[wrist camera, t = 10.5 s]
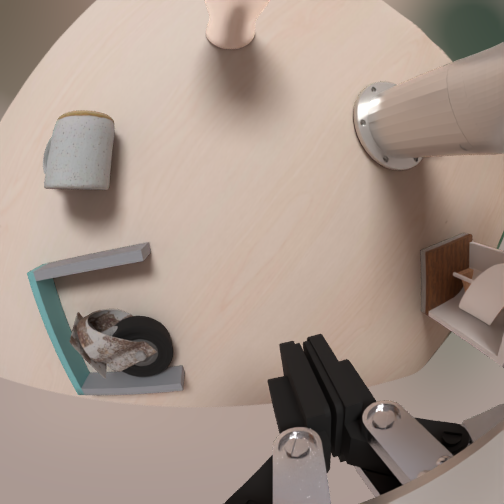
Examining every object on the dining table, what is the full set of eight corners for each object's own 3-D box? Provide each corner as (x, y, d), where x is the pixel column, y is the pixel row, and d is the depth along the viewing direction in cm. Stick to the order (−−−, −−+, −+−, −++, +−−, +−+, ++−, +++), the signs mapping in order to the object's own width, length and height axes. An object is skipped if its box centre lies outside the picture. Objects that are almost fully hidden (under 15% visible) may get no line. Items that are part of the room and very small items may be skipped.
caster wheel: (179, 339, 37) (124, 368, 35) (134, 276, 32) (74, 313, 30) (188, 370, 31) (125, 401, 30) (134, 304, 26) (65, 344, 24)
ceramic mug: (125, 121, 27) (100, 103, 20) (118, 189, 29) (91, 191, 22) (53, 127, 26) (19, 117, 19) (47, 190, 28) (11, 193, 20)
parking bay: (148, 242, 31) (140, 249, 27) (184, 372, 36) (183, 390, 32) (42, 264, 29) (26, 273, 26) (86, 379, 34) (78, 394, 30)
